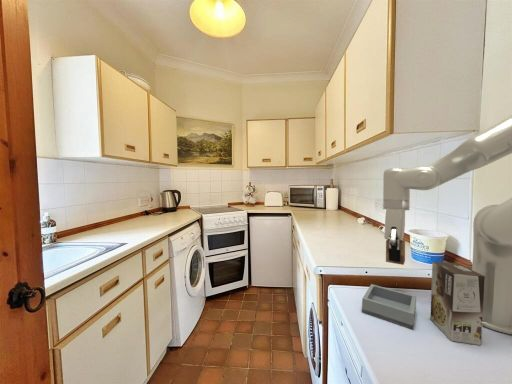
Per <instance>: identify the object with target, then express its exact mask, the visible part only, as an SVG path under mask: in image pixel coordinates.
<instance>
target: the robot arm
mask: <svg viewBox="0 0 512 384" xmlns="http://www.w3.org/2000/svg"><path fill="white" fill-rule="evenodd" d="M510 154H511V155H512V115H509V116H508V117H507V118H504V119H502V120H501V121H499V122H497V123H495V124H494V125H492V126H490V127H488V128H486V129H485V130H483V131H481V132H478V133H476V134H475V135H473V136H471V137H469V138H467V140H465V141H463V142H462V143H461V144H459V145H458V146H457V147H456V148H454V149H453V150H452V151H451V152H449V153H448V154H446V155H444V156H443V157H441V158H439V159H437V160H435V161H434V162H432V163H429V164H427V165H420V166H413V167H405V168H404V167H393V168H387V169H385V170H384V171H383V182H382V183H383V186H382V187H383V188H382V189H383V192H382V194H383V195H382V197H383V199H382V200H383V201H382V205H383V206H382V207H383V208H382V209H383V210H385V220H384V235H383V236H384V240H387V239H388V238H389V239H390V242H389V260H390V261H395V262H400V250H399V246H400V241H401V240H404V237H405V236H404V235H405V227H406V211H410V205H411V204H410V197H411V195H410V194H411V193H410V192H411V191H410V190H417V191H430V190H433V189H435V188H437V187H439V186H441V185H443V184H445V183H447V182H449V181H452V180H454V179H457V178H458V177H461V176H462V175H465V174H467V173H469V172H471V171H474V170H478V169H481V168H482V167H485V166H488V165H489V164H492V163H495V162H496V161H498V160H500V159H501V160H502V159H503V158H504V157H506V156H509V155H510ZM472 222H473V223H472V225H473V226H472V227H473V231H472V232H473V245H472V264H471V265H472V266H471V270H473V271H475V272H477V273H479V274H481V275H483V276H485V282H484V300H483V316H482V327H485V328H488V329H490V330H493V331H496V332H500V333H504V334H508V335H512V197H509V199H506V200H505V201H504V202H502V203H500V204H492V205H491V204H490V205H487V206H484V207H482V208H481V209H479V210H478V211H477V212H476V213H475V215H474V218H473V221H472ZM396 239H397V240H396Z"/></svg>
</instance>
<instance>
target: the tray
mask: <svg viewBox="0 0 512 384" xmlns="http://www.w3.org/2000/svg"><path fill="white" fill-rule="evenodd" d="M416 309H417V295H414V294H410V293H406V292H403V291H399V290H395V289H392V288H388V287H383V286H380V285H377V284H372V283H371V284H370V286H369V287H368V288H367V290H366V292H365V293H364V295H363V296H362V301H361V313H362V314H366V315H370V316H372V317H375V318H378V319H380V320H383V321H386V322H390V323H392V324H394V325H395V324H396V325H398V326H401V327H404V328H406V329H409V330H412V331H414V325H415V317H416V311H415V310H416Z"/></svg>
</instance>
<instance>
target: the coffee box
mask: <svg viewBox="0 0 512 384" xmlns="http://www.w3.org/2000/svg"><path fill="white" fill-rule="evenodd" d="M431 263H432V267H431V271H432V272H431V290H430V291H431V293H430V294H431V295H430V297H431V298H430V318H429V319H430V321H432V323H433V324H434V325H435V326H436V327H437V328H438V329H440V330H439V331H440V332H442V333H443V334H444V335H445V336H446V337H447V338H448V339H449V340H450V341H451V342H458V343H464V344H471V345H477V346H481V345H482V335H483V333H482V331H483V326H482V316H483V300H484V282H485V276H483V275H481V274H479V273H477V272H475V271H473V270H472V268H469V267H467V266H465V265H462V264H460V263H455V262H439V261H438V262H437V261H432V262H431Z"/></svg>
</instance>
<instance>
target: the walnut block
mask: <svg viewBox="0 0 512 384" xmlns="http://www.w3.org/2000/svg"><path fill="white" fill-rule="evenodd" d="M385 240H386V241H385V262H386V263H392V264H397V265H401V266H404V265H405V262H406V240H404V239H402V240H401V241H400V246H399V250H400V262H395V261H390V260H389V242H390V237H389V238H388V239H385ZM396 240H397V239H396Z"/></svg>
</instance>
